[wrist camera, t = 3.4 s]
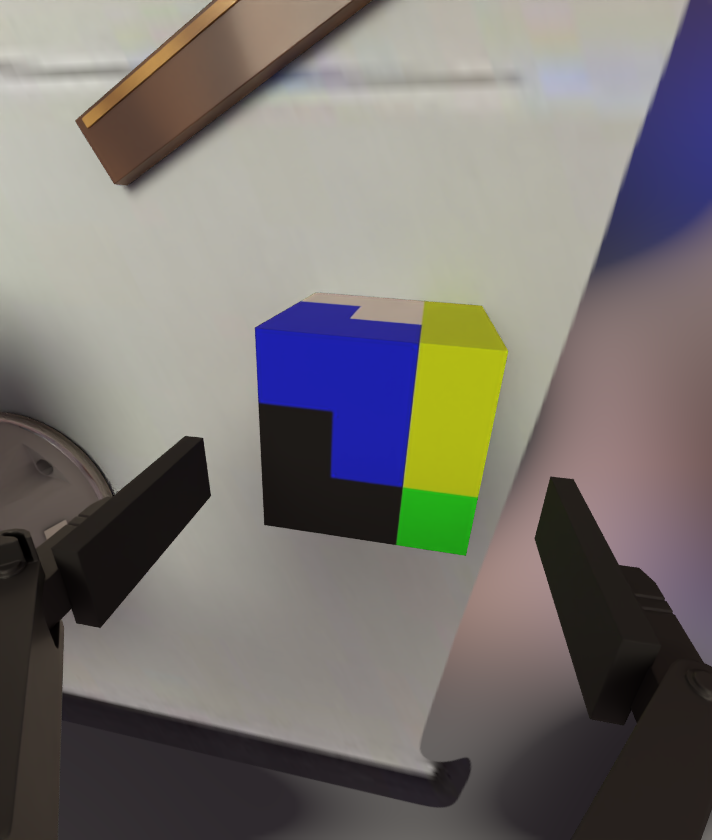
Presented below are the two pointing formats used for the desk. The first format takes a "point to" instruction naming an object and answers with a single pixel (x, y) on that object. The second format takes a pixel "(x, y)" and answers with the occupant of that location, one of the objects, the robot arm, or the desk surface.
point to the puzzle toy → (377, 417)
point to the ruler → (202, 77)
